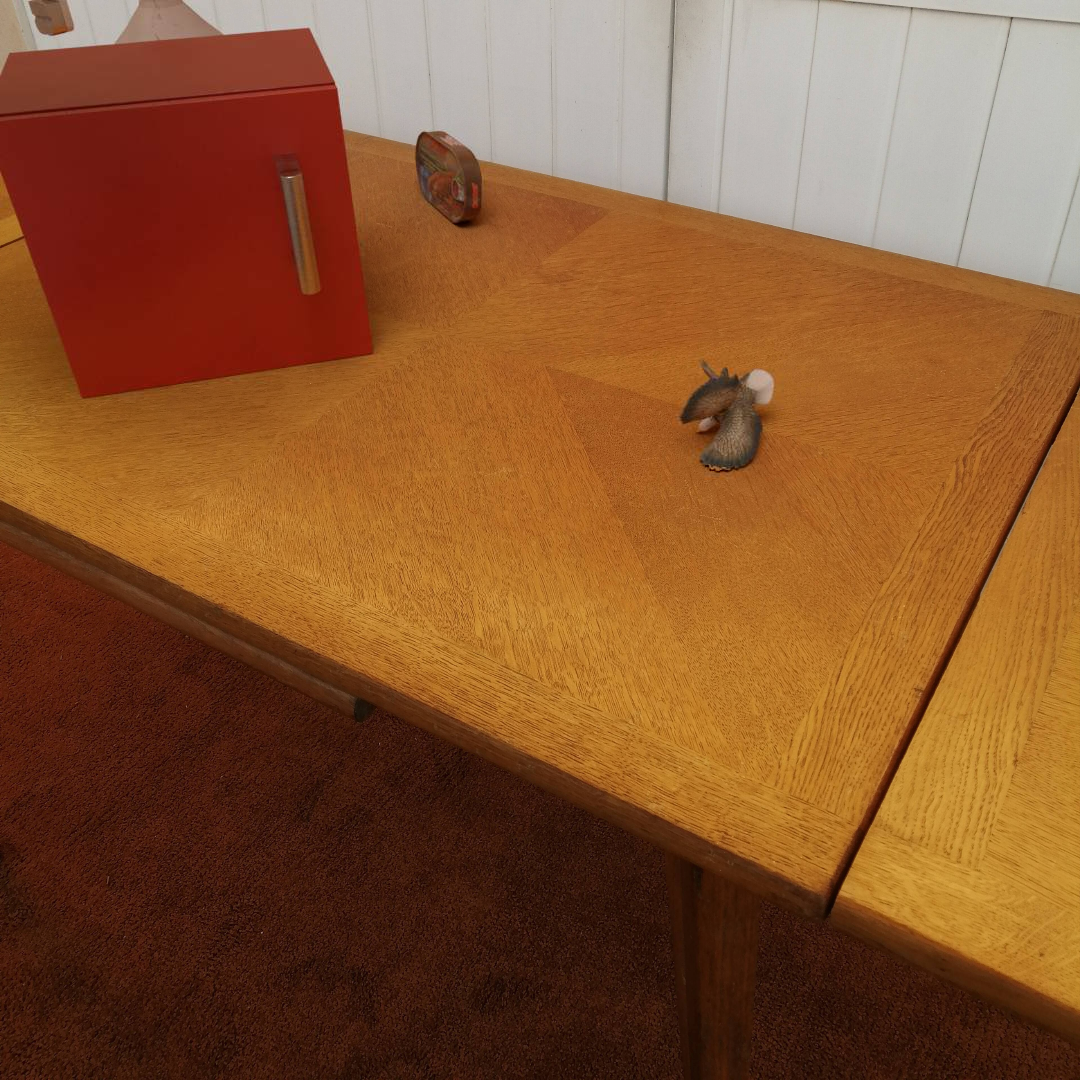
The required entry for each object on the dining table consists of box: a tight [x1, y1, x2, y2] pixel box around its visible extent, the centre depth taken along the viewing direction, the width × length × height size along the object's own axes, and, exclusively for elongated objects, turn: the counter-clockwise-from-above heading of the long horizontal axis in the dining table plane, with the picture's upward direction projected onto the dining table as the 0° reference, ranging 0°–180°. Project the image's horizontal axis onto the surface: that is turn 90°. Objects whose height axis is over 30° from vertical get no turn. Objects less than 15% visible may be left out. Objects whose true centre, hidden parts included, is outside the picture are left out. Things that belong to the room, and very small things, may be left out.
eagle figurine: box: [679, 359, 775, 469], centre depth 82 cm, size 8×7×9 cm
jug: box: [114, 0, 225, 44], centre depth 124 cm, size 20×18×30 cm
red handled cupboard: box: [0, 84, 374, 399], centre depth 83 cm, size 6×26×24 cm, turn 107°
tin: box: [414, 130, 483, 224], centre depth 120 cm, size 15×3×8 cm, turn 27°
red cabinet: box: [0, 27, 336, 117], centre depth 92 cm, size 18×26×24 cm
